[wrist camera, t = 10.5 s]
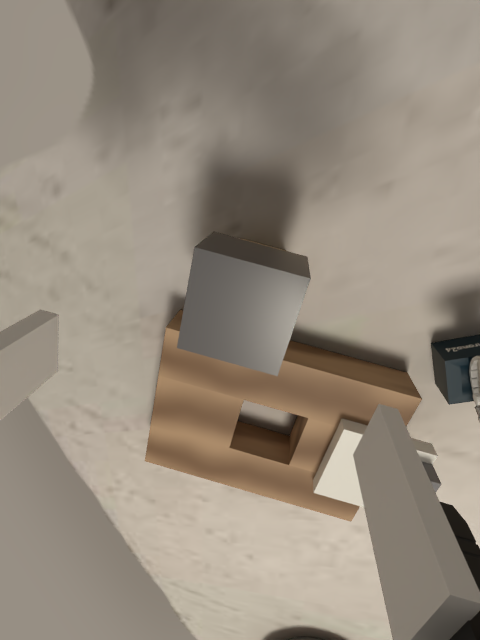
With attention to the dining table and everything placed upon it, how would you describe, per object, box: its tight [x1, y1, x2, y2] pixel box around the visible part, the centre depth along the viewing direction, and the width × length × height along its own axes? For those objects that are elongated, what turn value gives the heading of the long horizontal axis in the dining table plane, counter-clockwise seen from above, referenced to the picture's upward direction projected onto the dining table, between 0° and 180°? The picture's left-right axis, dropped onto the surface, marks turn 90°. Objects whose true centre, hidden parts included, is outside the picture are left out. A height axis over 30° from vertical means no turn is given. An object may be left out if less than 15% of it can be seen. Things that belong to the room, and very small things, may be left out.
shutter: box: [313, 419, 441, 507], centre depth 30 cm, size 8×8×3 cm
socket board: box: [145, 310, 422, 521], centre depth 34 cm, size 16×22×4 cm
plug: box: [177, 232, 311, 376], centre depth 25 cm, size 6×6×11 cm
